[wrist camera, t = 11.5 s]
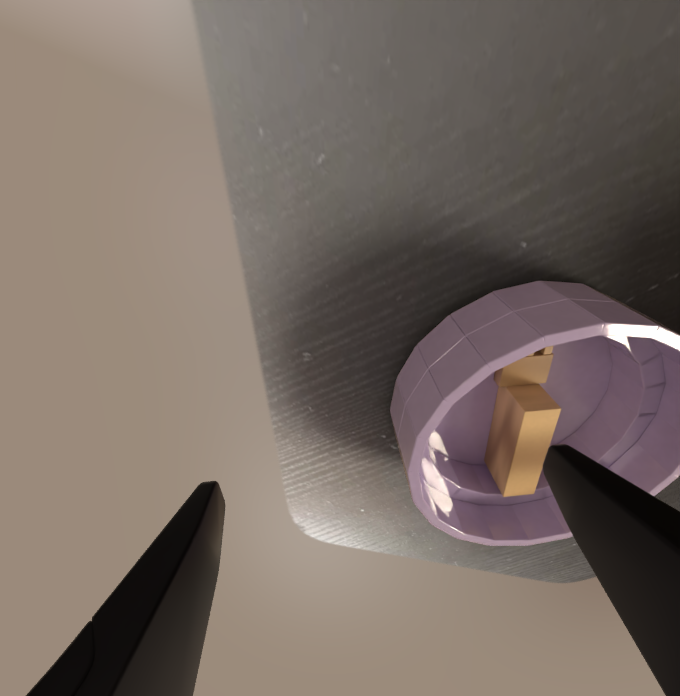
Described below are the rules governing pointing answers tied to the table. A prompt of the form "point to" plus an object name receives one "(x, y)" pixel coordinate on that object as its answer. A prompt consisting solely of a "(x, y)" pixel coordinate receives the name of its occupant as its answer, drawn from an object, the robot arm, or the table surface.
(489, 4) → the table surface
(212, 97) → the table surface
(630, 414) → the bowl
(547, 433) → the fork
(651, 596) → the robot arm
